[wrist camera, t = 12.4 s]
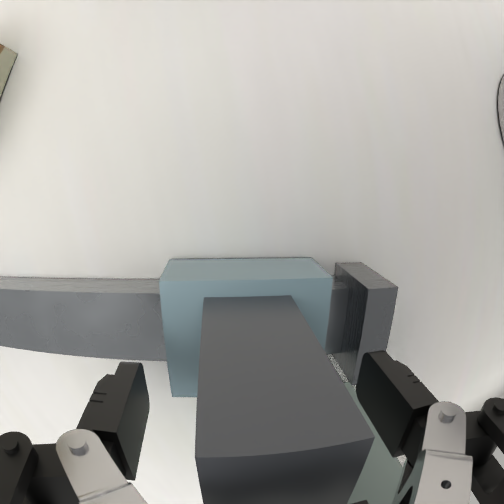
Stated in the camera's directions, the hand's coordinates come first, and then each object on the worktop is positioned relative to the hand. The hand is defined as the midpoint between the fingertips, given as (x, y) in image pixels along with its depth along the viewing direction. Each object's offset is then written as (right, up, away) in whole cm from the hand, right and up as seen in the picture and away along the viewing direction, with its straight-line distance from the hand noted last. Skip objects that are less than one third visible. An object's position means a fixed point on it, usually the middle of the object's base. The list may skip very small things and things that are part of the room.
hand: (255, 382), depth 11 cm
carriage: (-1, +2, +6) cm, 6 cm away
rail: (-7, +1, +5) cm, 9 cm away
